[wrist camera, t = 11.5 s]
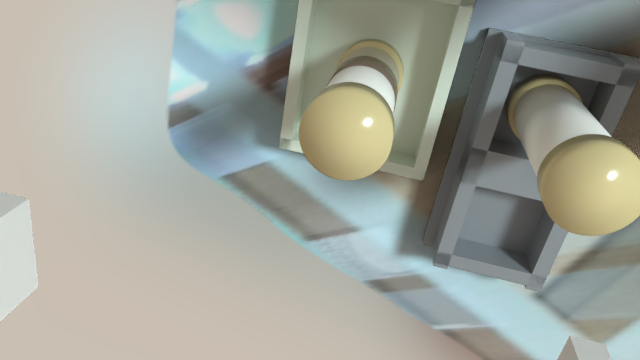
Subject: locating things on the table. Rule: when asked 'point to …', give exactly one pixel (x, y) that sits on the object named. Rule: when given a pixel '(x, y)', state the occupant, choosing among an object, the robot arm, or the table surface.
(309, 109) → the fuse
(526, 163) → the grey divided tray
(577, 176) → the fuse
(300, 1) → the parts tray
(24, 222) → the robot arm
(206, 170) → the table surface
